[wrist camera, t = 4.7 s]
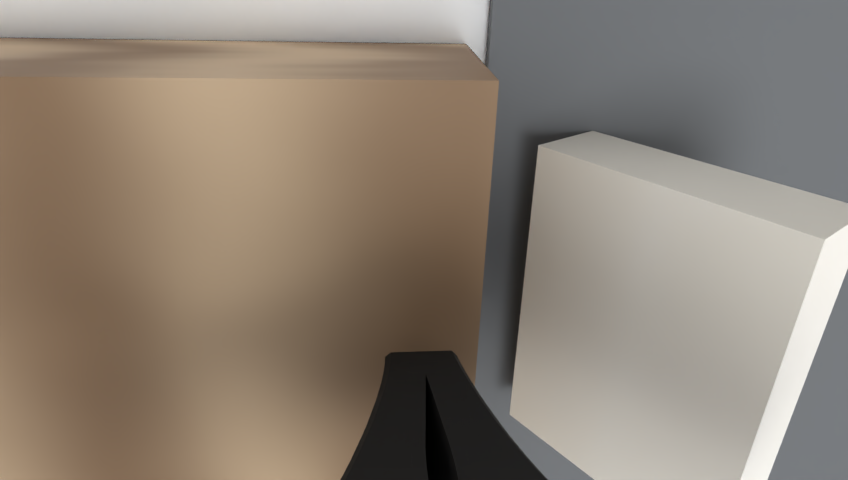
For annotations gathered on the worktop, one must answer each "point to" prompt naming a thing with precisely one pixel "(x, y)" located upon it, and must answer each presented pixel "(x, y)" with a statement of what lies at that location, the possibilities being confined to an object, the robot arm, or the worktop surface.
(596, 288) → the cream flat block
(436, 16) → the worktop surface
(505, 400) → the mat
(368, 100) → the butcher block
